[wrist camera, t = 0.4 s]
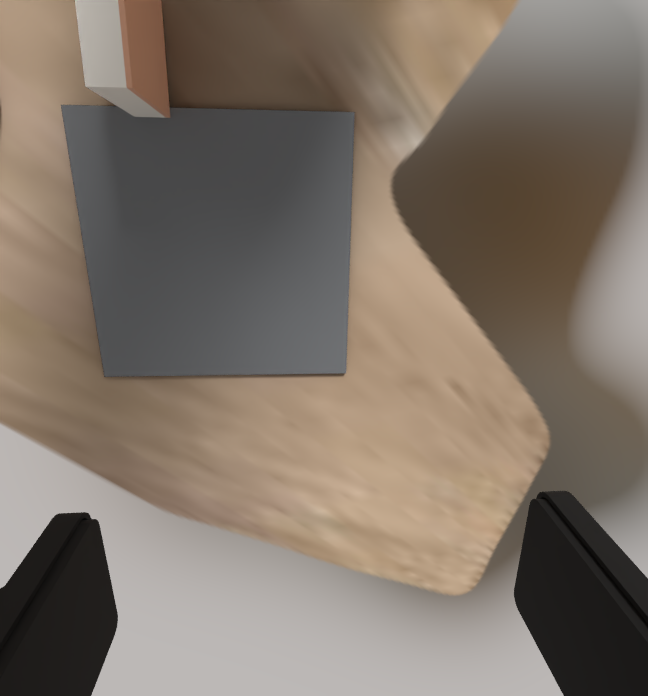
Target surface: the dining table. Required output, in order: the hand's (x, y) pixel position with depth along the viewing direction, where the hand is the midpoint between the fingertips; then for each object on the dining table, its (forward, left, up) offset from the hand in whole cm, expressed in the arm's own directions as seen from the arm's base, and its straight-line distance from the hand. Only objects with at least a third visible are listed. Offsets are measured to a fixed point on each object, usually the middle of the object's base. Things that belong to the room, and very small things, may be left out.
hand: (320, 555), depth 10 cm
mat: (-2, -6, -29) cm, 29 cm away
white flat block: (-15, -10, -28) cm, 34 cm away
